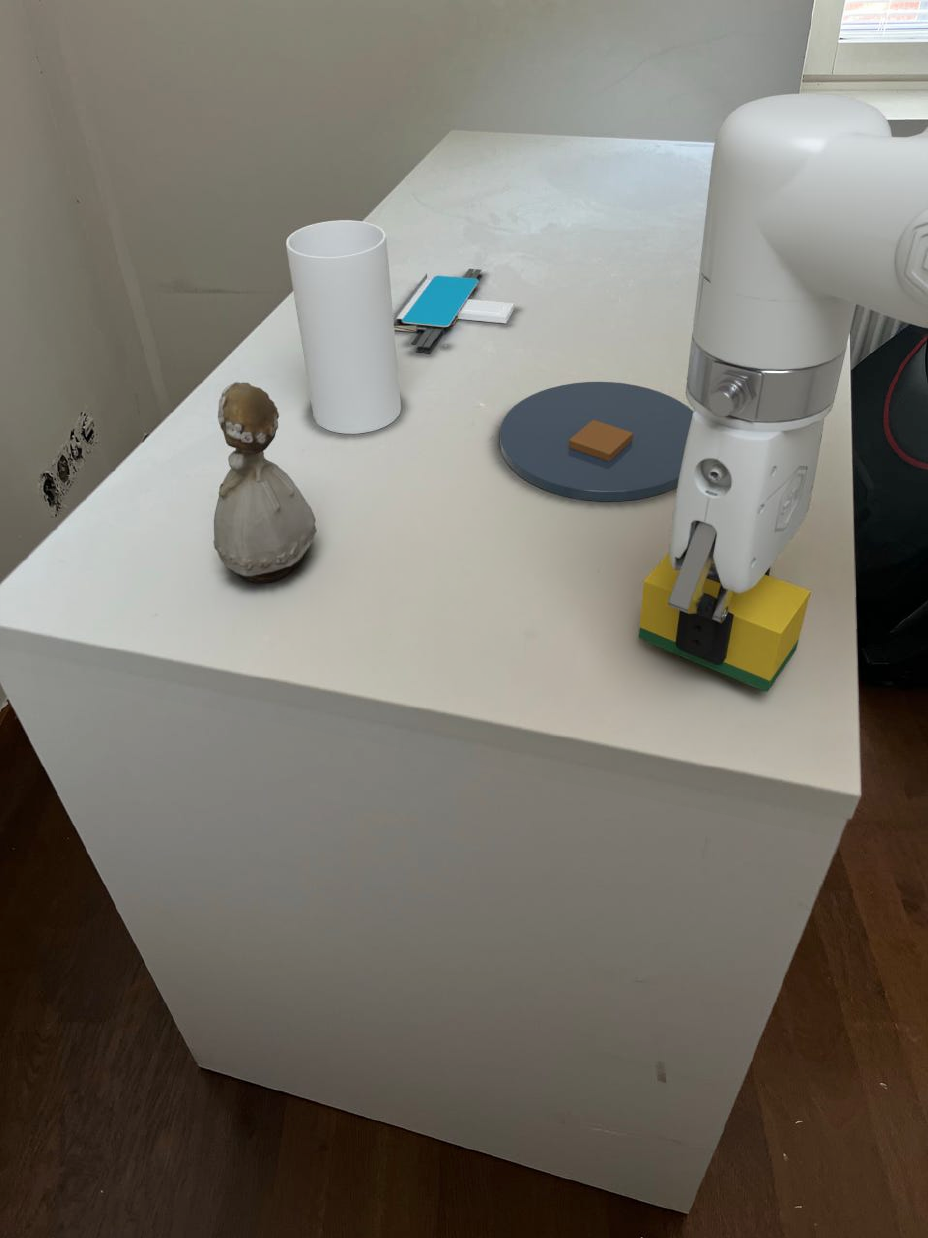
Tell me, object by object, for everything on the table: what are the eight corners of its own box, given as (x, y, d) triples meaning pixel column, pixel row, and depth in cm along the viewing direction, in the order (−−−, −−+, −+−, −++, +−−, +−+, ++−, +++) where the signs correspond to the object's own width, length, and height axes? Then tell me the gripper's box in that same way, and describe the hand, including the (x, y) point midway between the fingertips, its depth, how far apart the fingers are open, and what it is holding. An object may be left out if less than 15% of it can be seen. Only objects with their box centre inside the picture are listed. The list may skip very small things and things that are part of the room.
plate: (707, 398, 87) (709, 388, 87) (705, 511, 74) (707, 500, 74) (517, 384, 90) (517, 375, 90) (482, 491, 77) (482, 481, 77)
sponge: (767, 693, 58) (781, 633, 54) (637, 638, 62) (643, 580, 59) (796, 649, 60) (811, 590, 57) (670, 600, 65) (677, 542, 61)
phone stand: (485, 359, 94) (485, 344, 93) (374, 347, 97) (373, 332, 96) (531, 279, 108) (531, 265, 107) (433, 271, 111) (432, 257, 110)
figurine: (250, 528, 75) (210, 354, 64) (331, 538, 73) (303, 361, 63) (209, 593, 69) (157, 413, 59) (296, 605, 68) (259, 423, 58)
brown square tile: (609, 462, 78) (610, 453, 78) (568, 447, 80) (568, 439, 79) (632, 440, 80) (633, 432, 80) (592, 427, 82) (593, 419, 82)
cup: (397, 433, 84) (381, 256, 74) (307, 434, 85) (277, 259, 74) (404, 388, 91) (389, 218, 80) (319, 389, 91) (294, 220, 80)
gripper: (765, 468, 42) (714, 738, 54) (891, 323, 51) (824, 580, 64) (616, 423, 45) (601, 686, 57) (760, 296, 55) (721, 544, 67)
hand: (718, 628), depth 60 cm, fingers closed on sponge, 4 cm apart
